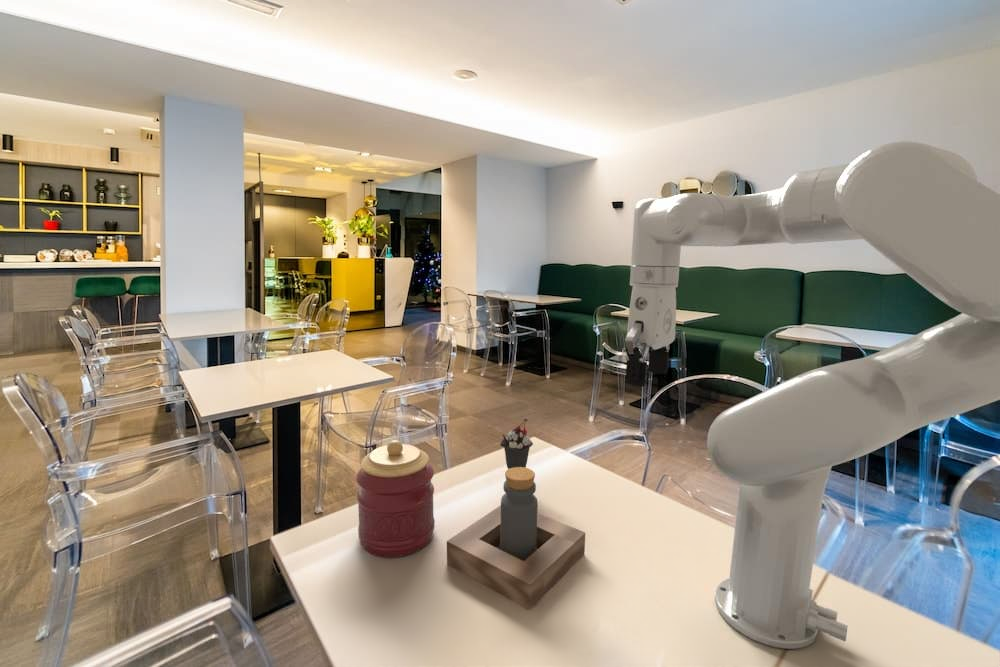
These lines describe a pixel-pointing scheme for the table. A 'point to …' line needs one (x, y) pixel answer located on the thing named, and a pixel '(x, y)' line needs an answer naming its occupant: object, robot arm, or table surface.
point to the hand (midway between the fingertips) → (646, 378)
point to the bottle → (519, 513)
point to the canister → (395, 500)
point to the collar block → (508, 573)
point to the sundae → (516, 447)
